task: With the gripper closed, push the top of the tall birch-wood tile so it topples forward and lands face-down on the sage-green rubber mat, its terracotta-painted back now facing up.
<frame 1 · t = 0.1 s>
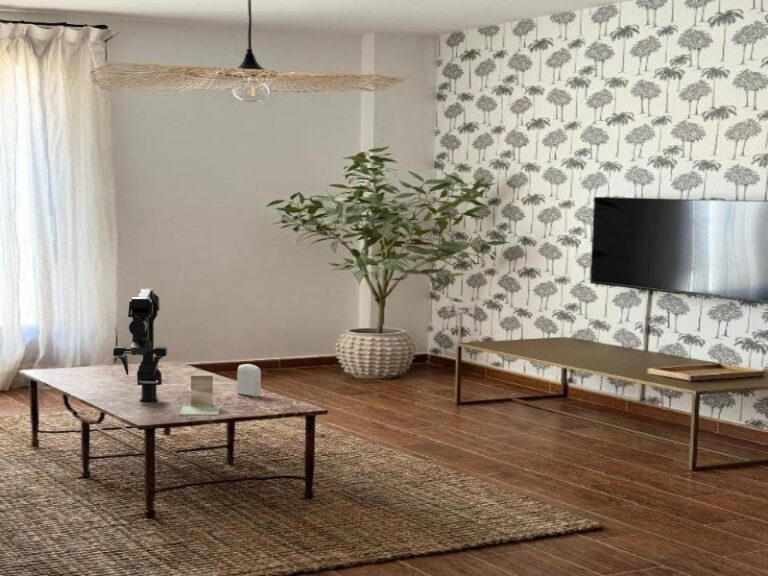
hand: (140, 374, 416), 15 cm above the table, tool pointing down, fingers open, 9 cm apart
birch tile: (201, 406, 435), on the table
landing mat: (200, 411, 426), on the table
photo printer: (248, 395, 460), on the table
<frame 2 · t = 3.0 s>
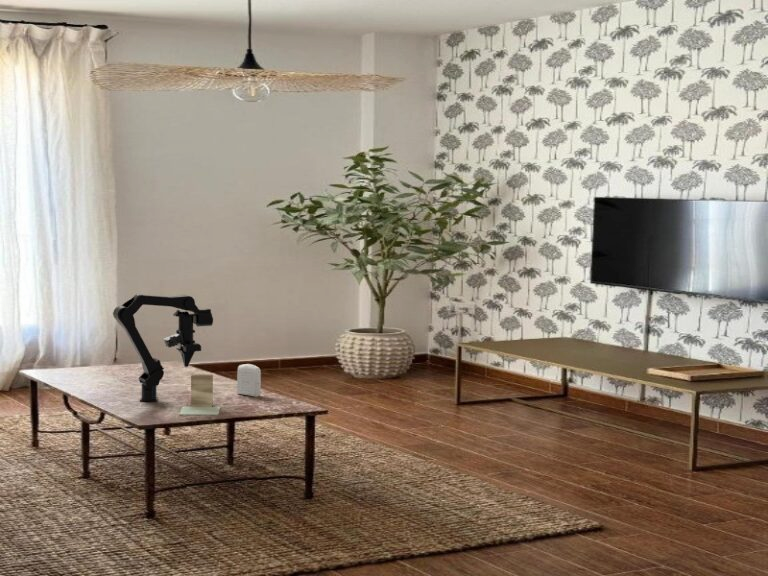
hand: (186, 366, 451), 12 cm above the table, tool pointing down, fingers closed
nothing on the table moved.
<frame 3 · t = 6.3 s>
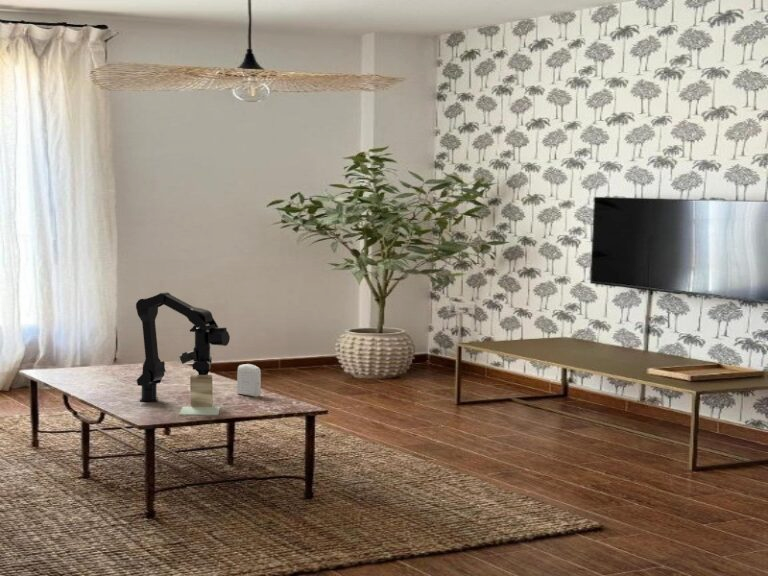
hand: (202, 384, 435), 8 cm above the table, tool pointing down, fingers closed
birch tile: (201, 405, 435), point 1 cm above the table, tilted 19°
everything else where it was.
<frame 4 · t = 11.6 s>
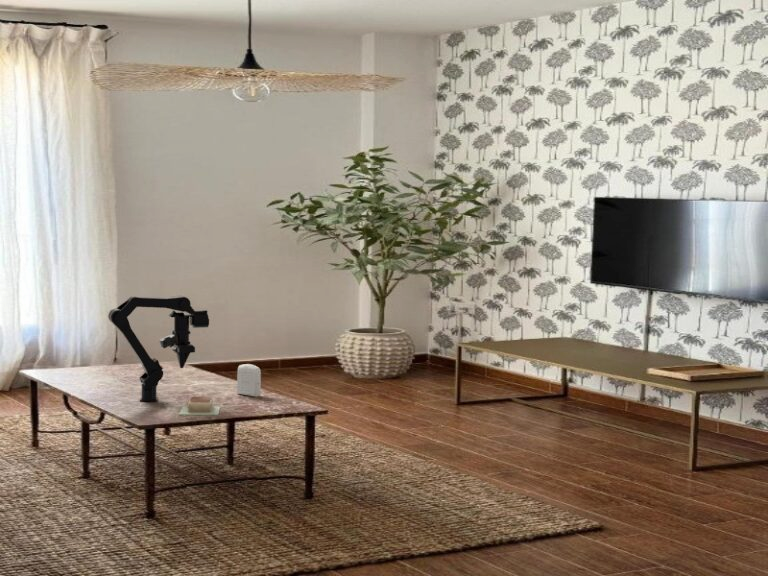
hand: (181, 367, 449), 12 cm above the table, tool pointing down, fingers closed
birch tile: (201, 401, 433), point 2 cm above the table, tilted 90°, touching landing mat
everything else where it was.
at the end: birch tile tilted 90°; birch tile inside the target area on the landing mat (5.8 cm from its centre), point 2.1 cm above the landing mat's base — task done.
